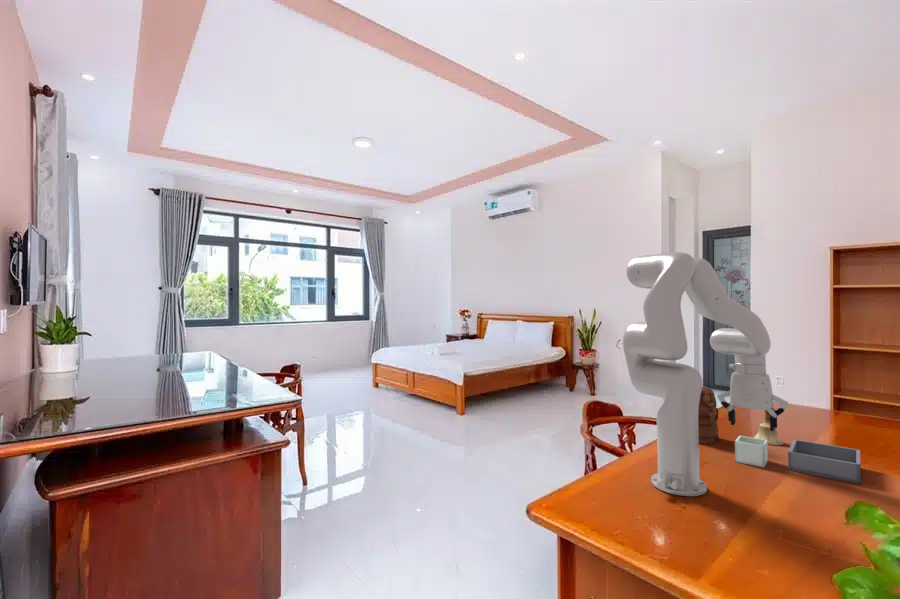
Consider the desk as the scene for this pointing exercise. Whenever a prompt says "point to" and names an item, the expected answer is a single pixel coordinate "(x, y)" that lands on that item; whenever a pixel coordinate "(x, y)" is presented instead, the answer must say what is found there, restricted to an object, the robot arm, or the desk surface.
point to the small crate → (751, 451)
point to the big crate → (825, 461)
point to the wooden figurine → (707, 416)
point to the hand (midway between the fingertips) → (752, 426)
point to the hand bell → (768, 432)
